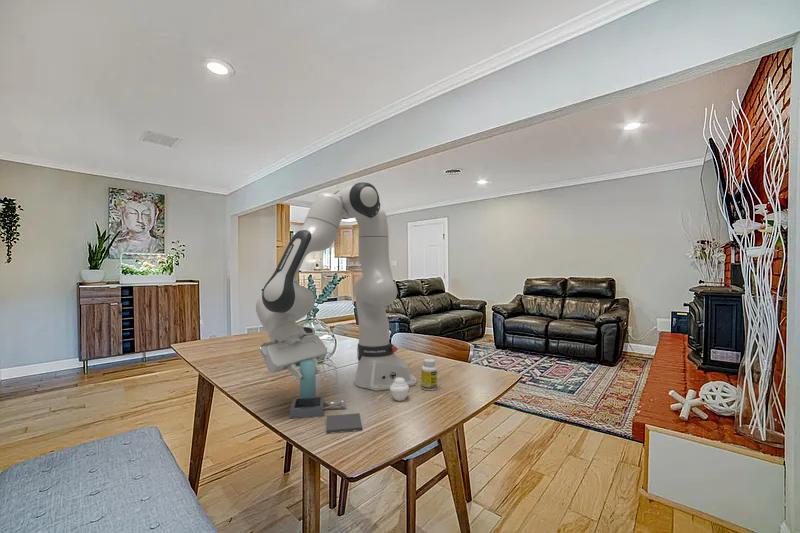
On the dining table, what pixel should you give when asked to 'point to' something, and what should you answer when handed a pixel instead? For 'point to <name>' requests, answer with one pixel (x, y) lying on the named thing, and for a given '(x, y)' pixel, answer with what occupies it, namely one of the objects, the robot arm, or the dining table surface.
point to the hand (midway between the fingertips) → (309, 375)
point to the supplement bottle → (429, 375)
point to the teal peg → (308, 379)
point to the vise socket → (311, 411)
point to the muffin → (399, 389)
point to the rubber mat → (343, 423)
